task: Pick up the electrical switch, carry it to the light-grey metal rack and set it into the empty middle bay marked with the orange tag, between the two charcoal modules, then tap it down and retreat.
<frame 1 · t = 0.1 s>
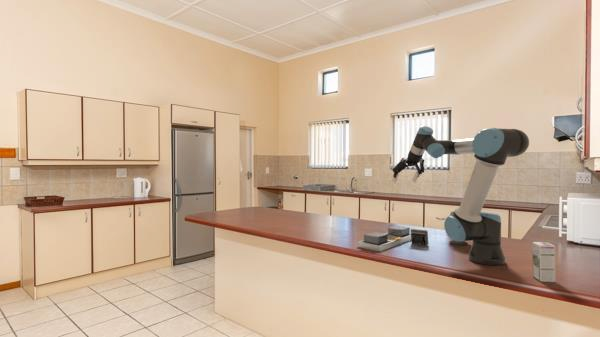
hand: (403, 181, 199), 36 cm above the table, tool tilted 35°, fingers open, 13 cm apart
electrical switch: (419, 245, 187), on the table
syrup box: (543, 280, 132), on the table
apothecary jar: (458, 243, 191), on the table
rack: (387, 242, 193), on the table
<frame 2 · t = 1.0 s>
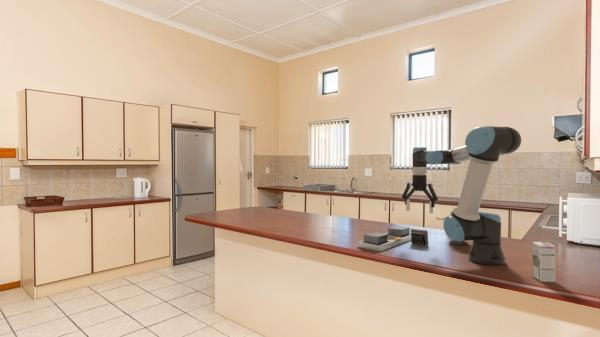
hand: (419, 212, 187), 19 cm above the table, tool pointing down, fingers open, 13 cm apart
nothing on the table moved.
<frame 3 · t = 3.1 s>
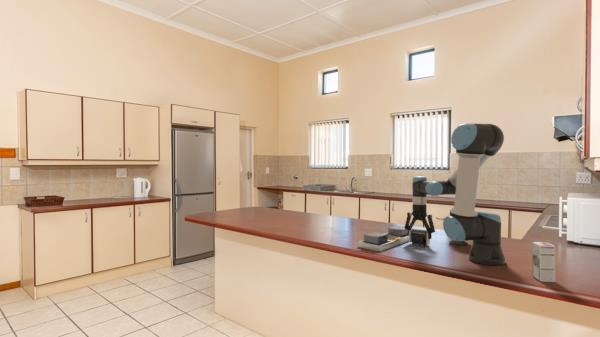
hand: (419, 243, 187), 1 cm above the table, tool pointing down, fingers closed on electrical switch, 9 cm apart
electrical switch: (419, 245, 187), on the table, touching gripper
everything else where it was.
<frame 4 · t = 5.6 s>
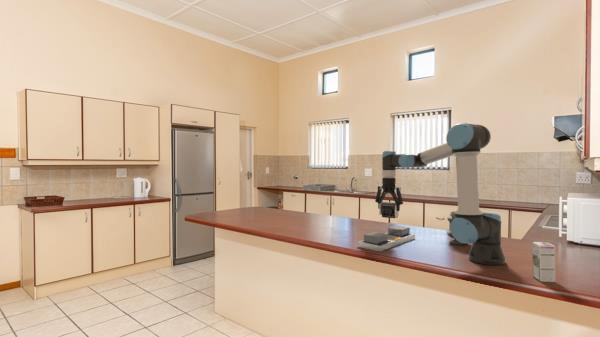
hand: (388, 215, 193), 16 cm above the table, tool pointing down, fingers closed on electrical switch, 9 cm apart
electrical switch: (389, 217, 193), point 15 cm above the table, touching gripper
everything else where it was.
when the fingers open (4 cm above the table, at t = 8.4 s): electrical switch drops 1 cm, resting on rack.
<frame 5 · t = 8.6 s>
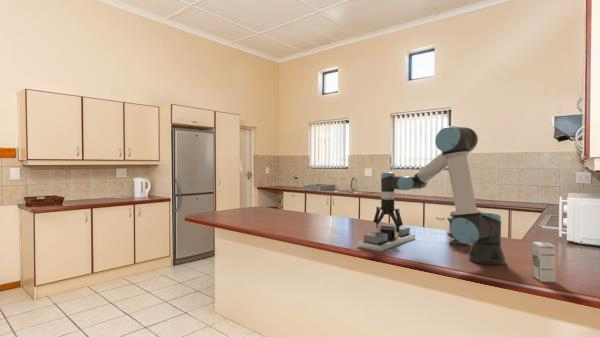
hand: (387, 236, 193), 4 cm above the table, tool pointing down, fingers open, 10 cm apart
electrical switch: (389, 241, 193), point 1 cm above the table, touching gripper, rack
everything else where it was.
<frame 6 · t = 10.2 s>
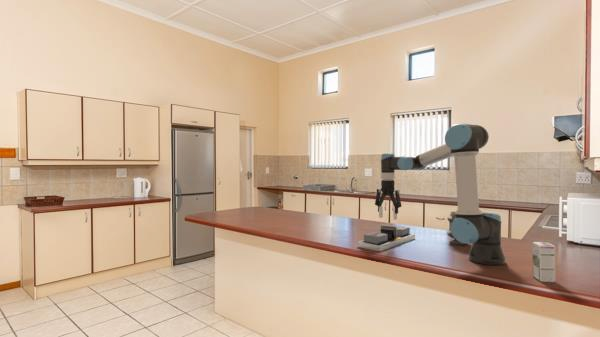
hand: (387, 218, 193), 14 cm above the table, tool pointing down, fingers open, 9 cm apart
electrical switch: (389, 241, 193), point 1 cm above the table, touching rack
everything else where it was.
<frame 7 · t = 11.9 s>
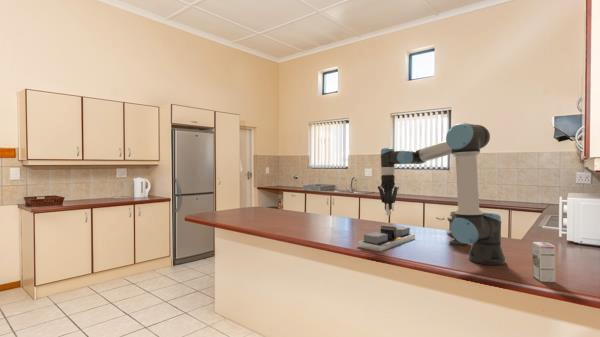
hand: (388, 214, 192), 16 cm above the table, tool pointing down, fingers closed
nothing on the table moved.
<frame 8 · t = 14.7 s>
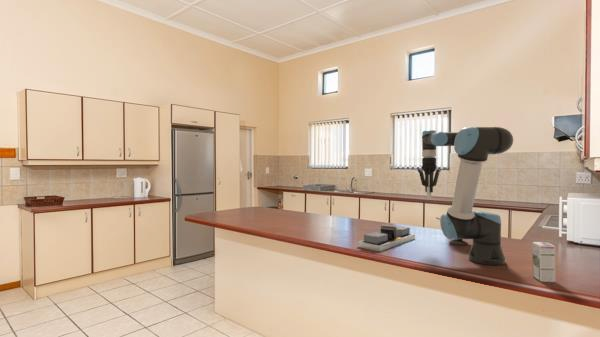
hand: (429, 198, 191), 26 cm above the table, tool pointing down, fingers closed
nothing on the table moved.
at the end: electrical switch inside the target area on the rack (0.8 cm from its centre), point 1.0 cm above the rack's base; electrical switch tilted 0°; the gripper is holding nothing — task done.
